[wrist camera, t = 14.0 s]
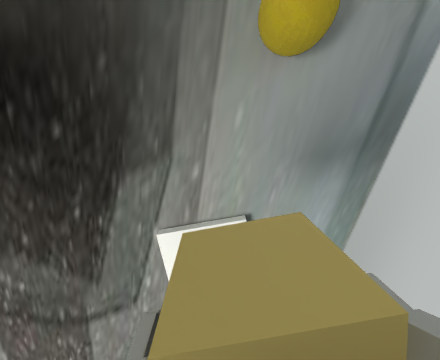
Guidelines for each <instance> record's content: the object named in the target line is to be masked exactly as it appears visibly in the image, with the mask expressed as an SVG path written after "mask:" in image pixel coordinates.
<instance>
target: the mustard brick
mask: <svg viewBox="0 0 440 360" xmlns="http://www.w3.org/2000/svg"><path fill="white" fill-rule="evenodd" d="M408 317H409V313H408V312H407V311H406V310H405V309H404V308H403V307H402V306H401V305H399V304H398V303H397V302H396V301H395V300H394V299H393V298H392V297H391V296H390V295H389V294H388V293H387V292H386V291H385V290H383V289H382V288H381V287H380V286H379V285H378V284H377V283H376V282H375V281H374V280H373V279H372V278H371V277H370V276H369V275H367V274H366V273H365V272H364V271H363V270H362V269H361V268H360V267H359V266H358V265H357V264H356V263H355V262H353V261H352V260H351V259H350V258H349V257H348V256H347V255H346V254H345V253H344V252H343V251H342V250H341V249H340V248H339V247H338V246H336V245H335V244H334V243H333V242H332V241H331V240H330V239H329V238H328V237H327V236H326V235H325V234H324V233H323V232H321V231H320V230H319V229H318V228H317V227H316V226H315V225H314V224H313V223H312V222H311V221H310V220H309V219H308V218H307V217H305V216H304V215H303V214H302V213H301V212H298V213H293V214H287V215H281V216H276V217H270V218H265V219H259V220H253V221H248V222H242V223H237V224H231V225H225V226H220V227H214V228H208V229H203V230H197V231H192V232H186V233H182V237H181V240H180V244H179V248H178V251H177V255H176V258H175V262H174V266H173V269H172V273H171V276H170V280H169V284H168V287H167V291H166V294H165V298H164V302H163V305H162V309H161V312H160V316H159V320H158V323H157V327H156V330H155V334H154V337H153V341H152V345H151V348H150V352H149V355H148V360H406V359H407V338H408Z"/></svg>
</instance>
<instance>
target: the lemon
mask: <svg viewBox="0 0 440 360" xmlns="http://www.w3.org/2000/svg"><path fill="white" fill-rule="evenodd" d="M339 4H340V0H262V1H261V5H260V9H259V14H258V27H259V32H260V36H261V38H262V40H263V43H264V44H265V45H266V46H267V48H268V49H269V50H271V51H272V52H273V53H275V54H278V55H281V56H294V55H298V54H301V53H303V52H304V51H306V50H308V49H310V48H311V47H313V46H314V45H315V44H316V43H317V42H318V41H319V40H320V39H321V38H322V37H323V36H324V34H325V33H326V31H327V30H328V29H329V27H330V26H331V24H332V22H333V20H334V18H335V16H336V13H337V11H338V8H339Z"/></svg>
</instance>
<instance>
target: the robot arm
mask: <svg viewBox="0 0 440 360" xmlns="http://www.w3.org/2000/svg"><path fill="white" fill-rule="evenodd" d="M367 275H369V276H370V277H371V278H372V279H373V280H374V281H375V282H376V283H377V284H378V285H379V286H380V287H381V288H382V289H383V290H385V291H386V292H387V293H388V294H389V295H390V296H391V297H392V298H393V299H394V300H395V301H396V302H397V303H398V304H399V305H401V306H402V307H403V308H404V309H405V310H406V311H407V312H408V313H409V317H408V338H407V359H406V360H440V318H438V317H436V316H434V315H431V314H429V313H427V312H424V311H422V310H420V309H417V310H413V309H412V308H411V307H410V306H409V305H408V304H407V303H405V302H404V301H403V300H402V299H401V298H400V297H399V296H397V295H396V294H395V293H394V292H393V291H392V290H391V289H390V288H388V287H387V286H386V285H385V284H384V283H383V282H382V281H381V280H379V279H378V278H377V277H376V276H375V275H374V274H371V273H367ZM160 312H161V310H159V311H153V312H146V313H144V314H143V316H142V317H141V320H140V323H139V325H138V328H137V330H136V333H135V336H134V338H133V341H132V344H131V346H130V349H129V352H128V354H127V357H126V360H148V355H149V352H150V348H151V345H152V341H153V337H154V334H155V330H156V327H157V323H158V320H159V316H160Z"/></svg>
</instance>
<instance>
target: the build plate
mask: <svg viewBox="0 0 440 360" xmlns="http://www.w3.org/2000/svg"><path fill="white" fill-rule="evenodd" d="M242 222H246V218H245V215H242V216H237V217H231V218H225V219H219V220H214V221H208V222H202V223H196V224H190V225H185V226H179V227H173V228H167V229H162V230H159V231H158V233H157V239H158V243H159V246H160V250H161V254H162V258H163V261H164V265H165V269H166V272H167V276H168V280H170V276H171V273H172V269H173V266H174V262H175V258H176V255H177V251H178V248H179V244H180V240H181V237H182V233H186V232H192V231H197V230H203V229H208V228H214V227H220V226H225V225H231V224H237V223H242Z"/></svg>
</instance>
